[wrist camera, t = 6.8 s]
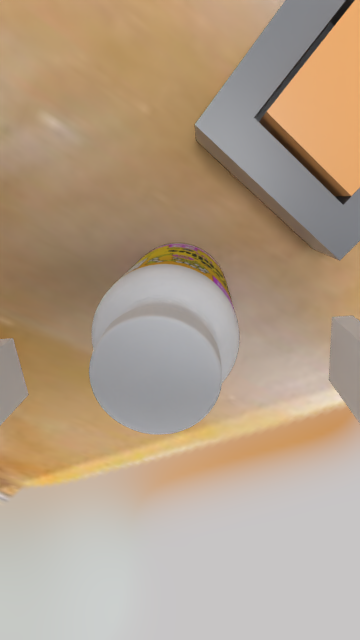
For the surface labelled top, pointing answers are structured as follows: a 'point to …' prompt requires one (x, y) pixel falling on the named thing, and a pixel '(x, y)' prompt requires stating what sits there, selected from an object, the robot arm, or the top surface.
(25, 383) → the robot arm
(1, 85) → the top surface
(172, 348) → the supplement bottle
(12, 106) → the top surface
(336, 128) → the plunger
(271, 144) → the frame
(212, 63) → the top surface
